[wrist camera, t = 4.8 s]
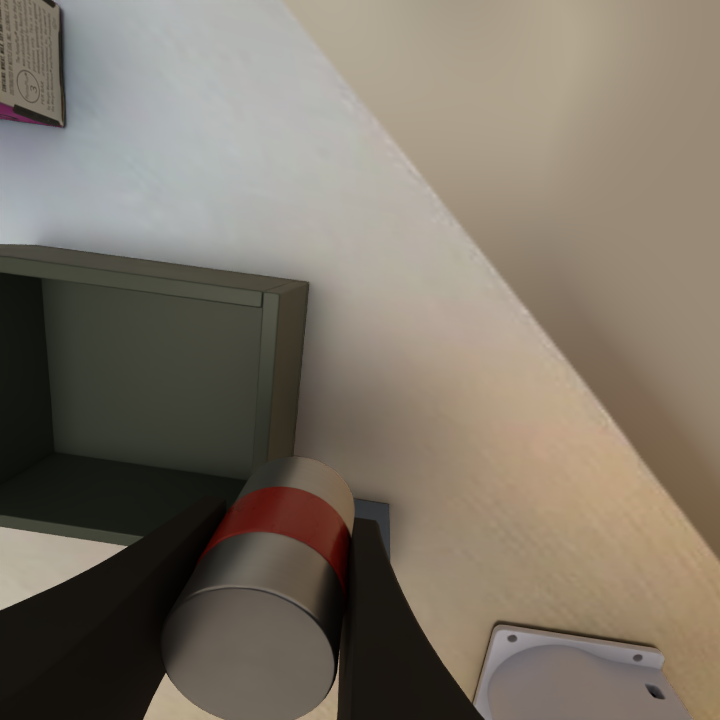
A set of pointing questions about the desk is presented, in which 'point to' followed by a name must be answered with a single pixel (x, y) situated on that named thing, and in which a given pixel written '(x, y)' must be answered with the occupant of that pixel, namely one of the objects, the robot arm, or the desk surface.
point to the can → (266, 598)
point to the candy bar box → (31, 62)
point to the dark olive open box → (138, 388)
